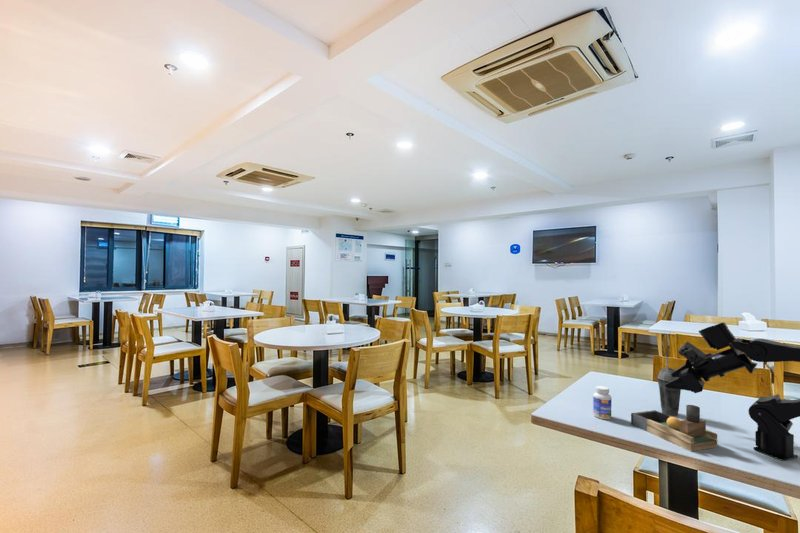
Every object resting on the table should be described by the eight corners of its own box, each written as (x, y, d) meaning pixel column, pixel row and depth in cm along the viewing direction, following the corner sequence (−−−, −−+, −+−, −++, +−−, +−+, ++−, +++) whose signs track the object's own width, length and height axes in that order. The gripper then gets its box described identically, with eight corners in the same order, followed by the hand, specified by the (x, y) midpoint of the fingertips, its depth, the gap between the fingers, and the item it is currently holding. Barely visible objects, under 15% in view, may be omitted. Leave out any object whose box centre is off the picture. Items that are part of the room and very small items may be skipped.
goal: (671, 427, 116) (671, 416, 116) (646, 431, 113) (646, 419, 113) (654, 420, 121) (655, 410, 121) (631, 424, 118) (631, 413, 118)
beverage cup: (687, 418, 123) (687, 358, 124) (663, 416, 125) (663, 357, 125) (676, 410, 130) (676, 354, 131) (653, 409, 132) (653, 352, 132)
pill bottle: (601, 420, 121) (602, 390, 121) (589, 414, 126) (589, 385, 126) (615, 418, 123) (615, 389, 123) (602, 412, 128) (602, 384, 128)
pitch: (717, 446, 103) (717, 433, 103) (690, 451, 101) (690, 438, 101) (671, 427, 116) (671, 416, 116) (646, 431, 113) (646, 419, 113)
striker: (707, 435, 104) (707, 407, 105) (689, 438, 103) (689, 409, 103) (696, 431, 107) (696, 403, 107) (678, 434, 105) (678, 405, 106)
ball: (684, 430, 109) (684, 418, 109) (675, 432, 108) (675, 420, 108) (672, 426, 112) (672, 414, 112) (663, 427, 111) (663, 415, 111)
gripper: (706, 329, 118) (658, 349, 128) (697, 348, 105) (644, 368, 115) (732, 361, 114) (680, 378, 125) (726, 384, 102) (669, 401, 112)
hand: (668, 380), depth 119 cm, fingers open, 9 cm apart
